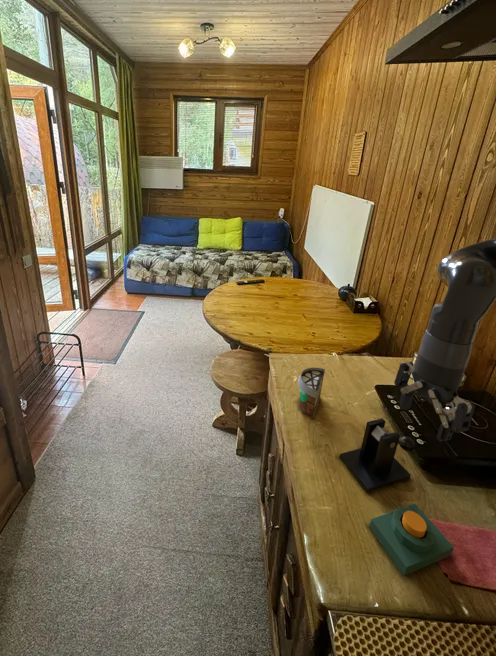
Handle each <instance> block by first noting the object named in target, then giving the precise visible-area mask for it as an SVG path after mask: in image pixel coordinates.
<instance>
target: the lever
mask: <svg viewBox="0 0 496 656" xmlns="http://www.w3.org/2000/svg"><path fill="white" fill-rule="evenodd" d="M390 433H391V432H389V431H388V430H387V429H386V428H385V427H384V428H383V427H380V426H377V427H376V428H375V429H374V431H373V432H372V433H371V434H372V435H373V436H374V437H375V438H376V439H377V440H378V441H380V437H381V436H383V435H386V434H390ZM398 445H399V447H400V448H401V449H402V451H405V452H412V451H414V449H415V447H416V444H415V442H414V440H413V439H412V438H411V437H409V436H407V435H402V436H400V438H399V442H398Z"/></svg>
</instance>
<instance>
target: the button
mask: <svg viewBox="0 0 496 656" xmlns="http://www.w3.org/2000/svg"><path fill="white" fill-rule="evenodd" d="M402 525H403V527H404V529H405V530H406V531H407V532H408V533H409V534H410V535H412V536H413V537H415V538H422V537H424V535H425V532H426V529H427V525H426V523H425V521H424V519H423V518H422V517H421V516H420V515H418V514H417V513H415V512H413V511H406V512H405V513H404V515H403V519H402Z"/></svg>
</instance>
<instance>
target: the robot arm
mask: <svg viewBox="0 0 496 656" xmlns="http://www.w3.org/2000/svg"><path fill="white" fill-rule="evenodd" d="M436 274H437V277H438V279H439V281H441V282H442V284H444V285H445V286H446V287H447V291H446V294H445V296H444V298H443V301H438V302H437V303H435V304H434V305H433V307H432V309H431V311H430V314H429V317H428V321H427V325H426V329H425V332H424V333H423V336H422V338H421V341H420V345H419V348H418V351H417V355H416V359H415V363H414V362H413V361H405V362H401V363H399V367H398V370H397V373H396V376H395V379H394V386H395V387H398V388H399V389H400V393H401V394H400V397H399V401H398V403H399V408H400V409H401V410H402V411H406V410H409V409H410V408H411V406H412V403H413V400H414V396H415V395H414V393H415V392H417V393H418V396H420V397H421V398H423V399H425V400H426V401H427V402H428V403H429V404H430V405H432V406H433V408H434V410H435V413H436V415H438V416H439V419H440V422H441V424H440V425H439V428H438V431H437V434H436V437H435V438H436V439H437V441H438V442H446V441H447V442H448V441H450V440H452V438H453V435H454V432H455V433H456V434H458V433H463V432H466V431H469V430H470V426H471V423H472V419H473V416H474V413H475V409H476V404H475V403H474V402H473V401H471V400H469V401H466V400H464V399H463V398H461V397H459V394H458V389H459V388H460V386H461V384H462V381H463V379H464V376H465V372H466V370H467V367H468V364H469V360H470V358H471V354H472V349H473V343H474V341H475V338H476V334H477V331H478V328H479V324H480V322H481V320H482V319H483V318H484V317H485V315H486V314H487V313H488V311H489V310H490V308H491V307H492V305H493V304H494V302H495V301H496V237H494V238H490V239H487V240H484V241H480V242H477V243H473V244H470V245H467V246H463V247H461V248H458V249H456V250H453V251H452V252H450V253H449V254H447V255H446V256H444V257H443V258H442V259H441V260H440V262H439V263H438V265H437V267H436ZM411 376H412V380H413V383H411V384H409V381H410V378H411ZM444 405H445V407H444V408H443V406H444Z"/></svg>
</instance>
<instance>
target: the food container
mask: <svg viewBox="0 0 496 656" xmlns="http://www.w3.org/2000/svg"><path fill="white" fill-rule="evenodd" d="M325 373H326V369H325V368H322V367H308V368H304V369H303V370H302V372H301V373H300V374H299V376H298V379H297V385H298V387H299V397H298V406H299V409H300V410H301V412H302V413H303V414H304V415H306V416H307V417H308V418H311V419H314V416H315V413H316V411H317V408H318V405H319V402H320V400H321V395H322V394H321V393H322V388H323V383H324V377H325Z"/></svg>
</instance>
